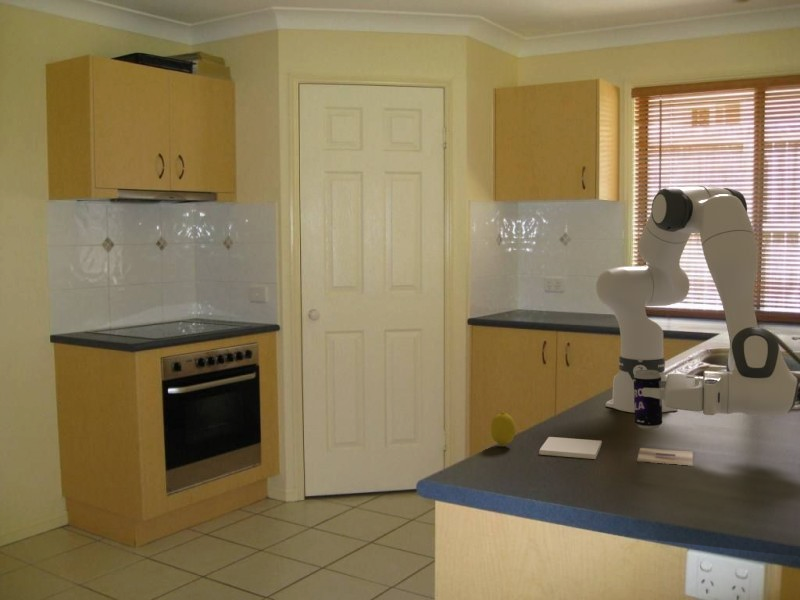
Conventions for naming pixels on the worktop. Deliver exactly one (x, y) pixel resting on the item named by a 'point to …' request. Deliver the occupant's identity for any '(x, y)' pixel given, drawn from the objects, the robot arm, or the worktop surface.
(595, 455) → the mat
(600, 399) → the worktop surface
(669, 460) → the pad
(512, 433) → the lemon
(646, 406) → the beverage can
